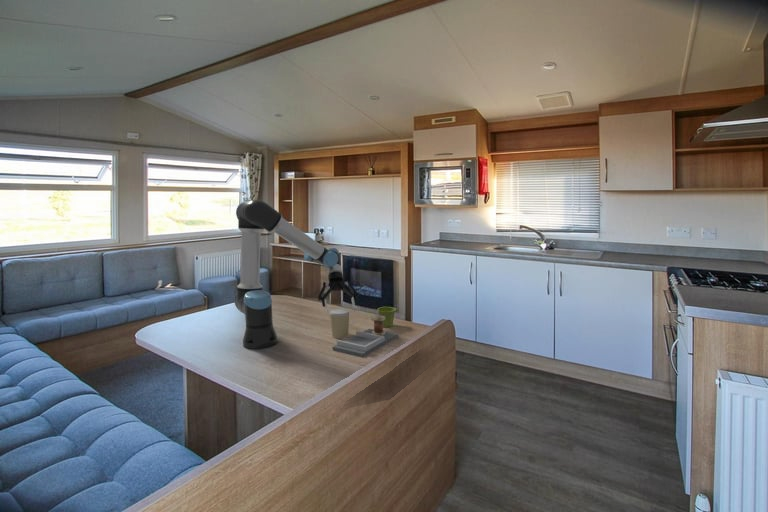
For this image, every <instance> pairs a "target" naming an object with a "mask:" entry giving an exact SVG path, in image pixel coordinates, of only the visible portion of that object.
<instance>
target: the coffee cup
mask: <svg viewBox="0 0 768 512" xmlns="http://www.w3.org/2000/svg"><path fill="white" fill-rule="evenodd" d="M328 315H329V321H330V329H331V332H330V333H331V336H332V338H334V339H344V338H347V337H348V336H349V328H350V327H349V325H350V311H349V310H348V309H346V308H333V309H331V310H330V311H329V314H328Z"/></svg>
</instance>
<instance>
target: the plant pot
mask: <svg viewBox="0 0 768 512" xmlns="http://www.w3.org/2000/svg"><path fill="white" fill-rule="evenodd" d="M376 311H377V312H378V315H382V316H385V320H384V321H383V328H386V327H387V328H392V326H394V319H395V313H396V311H397V309H396V307H392V306H382V307H378V308H377V310H376Z"/></svg>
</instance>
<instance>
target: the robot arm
mask: <svg viewBox="0 0 768 512" xmlns="http://www.w3.org/2000/svg"><path fill="white" fill-rule="evenodd" d="M235 216H236V218H237V221H238V223H237V228H238V229H239V231H241V237H240V238H241V240H240V242H241V243H240V245H241V247H240V248H241V249H240V283H239V284H238V285H236V293H235V295H234V299H233V300H234V301H233V302H234V305H235V307H236V309H237V310H238V311H239V312H240V313H242V314H244V315H245V316H244V317H245V331H244V335H243V338H242V346H243V347H244V348H246V349H249V348H250V350H252V349H253V350H259V349H266V348H270V347H273V346H274V345H276V344H278V341H279V340H278V338H279V337H278V335H277V332H276V329H275V327H274V324H273V322H274V321H273V306H272V304H273V303H272V302H273V300H272V295H271V293H270V292H269V291H266V290H263V287H264V286H263V285H262V284H261V283H260V277H261V276H260V274H261V272H260V271H261V270H260V269H261V239H262V236H261V235H262V232H263V231H264V230H266V231H267V232H269V233H272V232H273V233H274V234H276V235H277V236H278V237H281V238H282V239H283V240H285V241H286V242H288V243H289V244H291V245H293V246H294V247H296V248H297V249H299V250H300V251H302V252H303V259H304V260H305V261H307V262H309V263H311V262H312V263H315V264H317V265H322V266H325V267H326V271H327V277H328V278H327V279H328V282H325V281H324V282H323V283H322V288H321V289H320V292H319V294H318V297H317V301H320V302H321V304H322V307H323V308H324V311H325V312H324V313H325V314H328V304H327V303H328V302H327V298H328V297H329V296H330V294H331V293H332V292H337V291H338V292H341V291H342V292H344V293H345V294H347V296H349V297H350V298H351V305H352V311H353V312H355V311H356V304H357V299H358V298H359V295H360V294H359V292H358V291H357V290H356V289H355V287H354V286H353V285H352V283H351V281H350V280H347V281H345V279H344V275H343V269H342V263H341V256H340V252H339V251H340V250H338V248H336V247H329V248H326V247H325V246H324V245H322V244H321V243H320V242H318V241H316V240H315V239H313V238H312V237H311V236H309V235H308V234H306V232H304V231H302V230H301V229H299V228H297V227H296V226H295V225H293V224H292V223H290V222H289V221H288V220H286V219H285V218H284V217H283V215H282V214H281V213H280V212H279V211H277V210H276V209H275V208H274V207H272V206H271V205H269V204H268V203H267V202H265V201H263V200H260V199H245V200H243V201H241V202H240V203H239V204H238V206H237V207H236V210H235ZM327 287H329V288H328V290H327V291H326V292H325V290H326V289H327ZM324 292H325V293H324Z"/></svg>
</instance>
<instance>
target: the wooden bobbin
mask: <svg viewBox="0 0 768 512" xmlns="http://www.w3.org/2000/svg"><path fill="white" fill-rule="evenodd" d="M384 320H385V316H382V315H379V314H378V315H372V316H371V321H373V331H372V334H375V335H380V336H383V335H385V332H386V330H384V329H383V328H384V327H383V321H384Z"/></svg>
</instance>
